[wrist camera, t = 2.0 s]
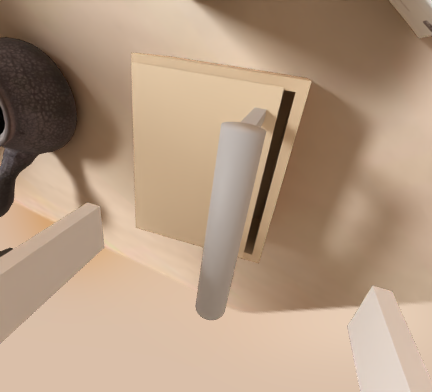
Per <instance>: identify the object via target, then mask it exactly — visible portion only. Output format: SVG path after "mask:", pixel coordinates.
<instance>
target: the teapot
mask: <svg viewBox="0 0 432 392" xmlns="http://www.w3.org/2000/svg"><path fill="white" fill-rule="evenodd" d="M76 122H77V113H76V105H75V101H74V98H73V94H72V91H71V89H70V87H69V85H68V83H67V81H66V79H65V77H64V76H63V74H62V73H61V71H60V69H59V68H58V67H57V66H56V64H55V63H54V62H53V61H52V60H51V59H50V58H49V57H48V56H47V55H46V54H45V53H44V52H42V51H41V50H40V49H38V48H37V47H35V46H34V45H32V44H30V43H27V42H24V41H22V40H19V39H13V38H8V37H4V38H0V146H2V147H4V148H5V150H4V154H3V159H2V164H1V166H0V217H1V216H3V215H4V214H5V213H6V212H7V211H8V210H9V208H10V207H11V205H12V203H13V201H14V189H15V179H16V177H17V176H18V174H19V173H20V172H21V171H22V170H23V169H25V168H26V167H27V166H28V165H30V164H31V163H32V162H33V161H34V159H35V158H36V157H37V156H38V155H39V154H42V153H47V152H53V151H55V150H58V149H60V148H62V147H63V146H64V145H65V144H66V143H68V142H69V140H70V139H71V137H72V136H73V134H74V131H75V128H76Z"/></svg>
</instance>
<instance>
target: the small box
mask: <svg viewBox="0 0 432 392" xmlns="http://www.w3.org/2000/svg"><path fill="white" fill-rule="evenodd" d="M389 1H390V2H391V4H392V5H393V6H394V7H395V9H396V10H397V11H398V12H399V13H400V15H401V16H402V17H403V18H404V20H405V21H406V22H407V23H408V25H409V26H410V27H411V29H412V30H413V31H414V33H415V34H416V35H417V37H418V38H424V37H428V36H432V0H389Z"/></svg>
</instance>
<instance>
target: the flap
mask: <svg viewBox="0 0 432 392" xmlns="http://www.w3.org/2000/svg"><path fill="white" fill-rule="evenodd" d="M131 77H132V112H133V147H134V182H135V217H136V228H139V229H142V230H145V231H149V232H152V233H156V234H159V235H163V236H166V237H169V238H173V239H176V240H180V241H183V242H187V243H190V244H193V245H197V246H200V247H204V249H203V256H202V263H201V270H200V277H199V285H198V292H197V299H196V310H197V312H198V314H199V315H200V316H201V317H202V318H204V319H207V320H216V319H218V318H220V317H221V316H222V315H223V314H224V312H225V308H226V304H227V300H228V295H229V291H230V287H231V282H232V278H233V274H234V269H235V265H236V261H237V257H238V258H241V259H242V258H243V254H244V250H245V246H246V241H247V237H248V233H249V229H250V225H251V221H252V217H253V213H254V209H255V205H256V201H257V197H258V193H259V189H260V184H261V180H262V176H263V172H264V168H265V164H266V160H267V156H268V152H269V148H270V144H271V140H272V136H273V131H274V127H275V123H276V119H277V115H278V111H279V107H280V103H281V99H282V95H283V91H284V87H280V86H274V85H268V84H262V83H256V82H250V81H244V80H238V79H232V78H225V77H219V76H213V75H207V74H201V73H195V72H189V71H183V70H177V69H171V68H165V67H159V66H153V65H147V64H141V63H135V62H131Z"/></svg>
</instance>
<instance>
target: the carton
mask: <svg viewBox="0 0 432 392" xmlns="http://www.w3.org/2000/svg"><path fill="white" fill-rule="evenodd" d="M131 62H135V63H141V64H147V65H153V66H159V67H165V68H171V69H177V70H183V71H189V72H195V73H201V74H207V75H213V76H219V77H225V78H232V79H238V80H244V81H250V82H256V83H262V84H268V85H274V86H280V87H284V91H283V95H282V99H281V103H280V107H279V111H278V115H277V119H276V123H275V127H274V131H273V136H272V140H271V144H270V148H269V152H268V156H267V160H266V164H265V168H264V172H263V176H262V180H261V184H260V189H259V193H258V197H257V201H256V205H255V209H254V213H253V217H252V221H251V225H250V229H249V233H248V237H247V241H246V246H245V250H244V254H243V258H242V259H245V260H249V261H252V262H256V263H259V260H260V257H261V254H262V250H263V247H264V243H265V240H266V236H267V233H268V229H269V226H270V223H271V219H272V216H273V212H274V209H275V206H276V202H277V199H278V195H279V192H280V189H281V185H282V182H283V178H284V175H285V171H286V168H287V165H288V161H289V158H290V154H291V151H292V147H293V144H294V140H295V137H296V133H297V130H298V127H299V123H300V120H301V116H302V113H303V109H304V106H305V103H306V99H307V96H308V92H309V89H310V85H311V82H312V81H311V80H309V79H308V78H304V77H298V76H292V75H285V74H279V73H273V72H266V71H260V70H253V69H247V68H241V67H234V66H228V65H222V64H215V63H209V62H202V61H196V60H190V59H183V58H177V57H170V56H161V55H151V54H141V53H132V52H131Z"/></svg>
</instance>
